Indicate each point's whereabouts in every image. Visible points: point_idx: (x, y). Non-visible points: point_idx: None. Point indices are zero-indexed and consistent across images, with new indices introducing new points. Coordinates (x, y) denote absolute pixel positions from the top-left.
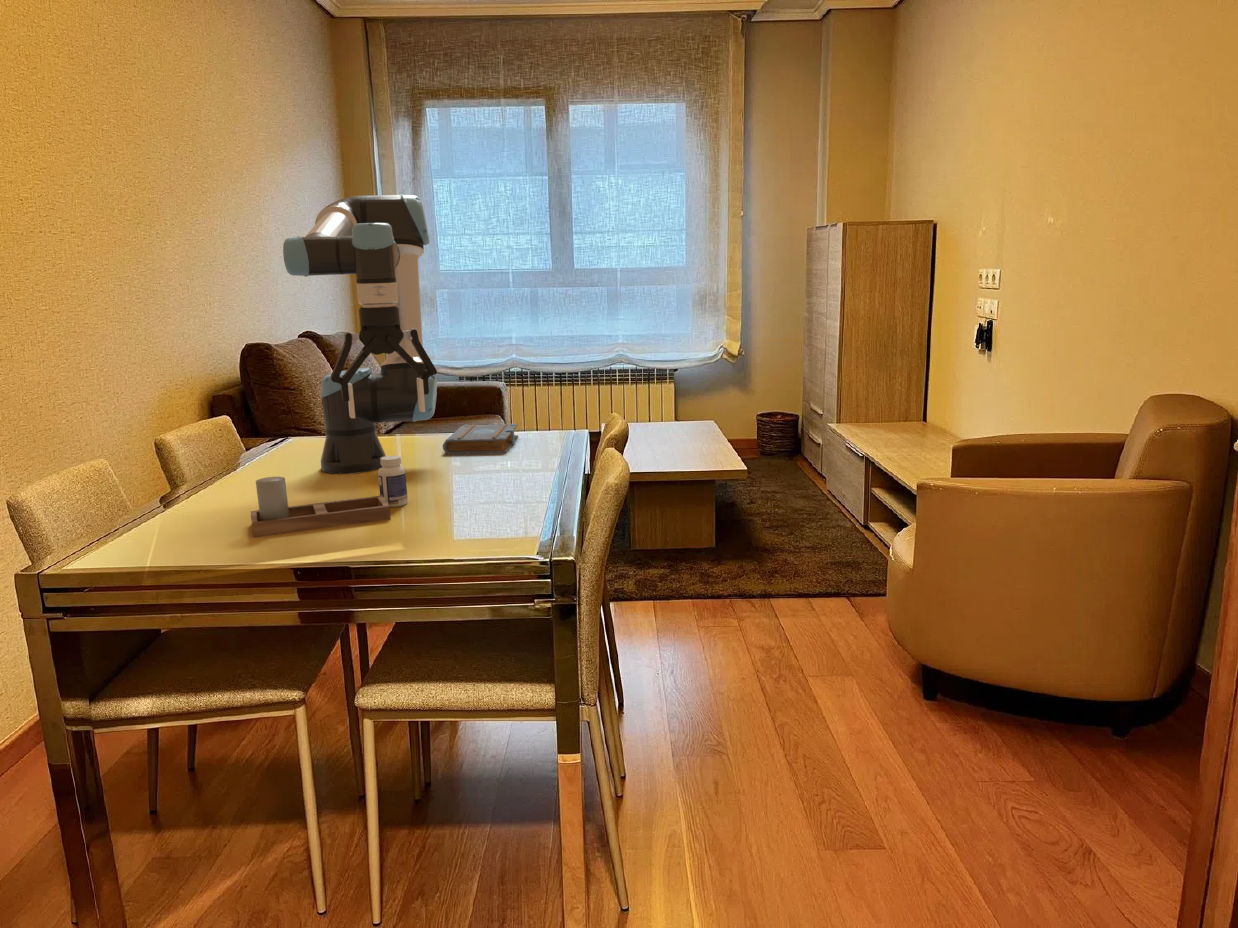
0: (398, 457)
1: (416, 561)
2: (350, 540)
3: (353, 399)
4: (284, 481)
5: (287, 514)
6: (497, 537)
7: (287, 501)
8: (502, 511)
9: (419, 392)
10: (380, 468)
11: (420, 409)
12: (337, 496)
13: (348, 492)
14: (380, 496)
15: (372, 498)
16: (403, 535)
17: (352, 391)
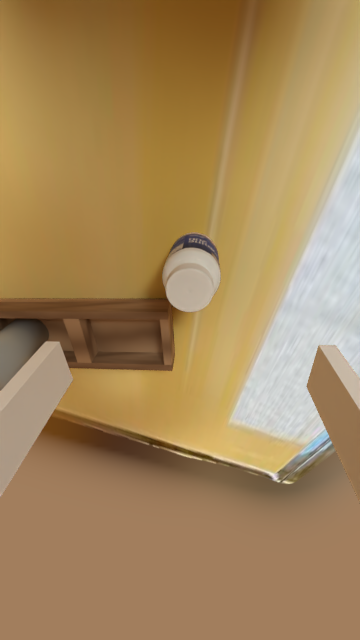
0: (207, 300)
1: (182, 450)
2: (127, 385)
3: (36, 438)
4: (8, 380)
5: (38, 348)
6: (269, 433)
7: (28, 355)
8: None
9: (345, 449)
10: (167, 274)
11: (313, 379)
12: (86, 123)
13: (107, 87)
14: (164, 317)
15: (151, 318)
16: (182, 393)
17: (13, 474)
